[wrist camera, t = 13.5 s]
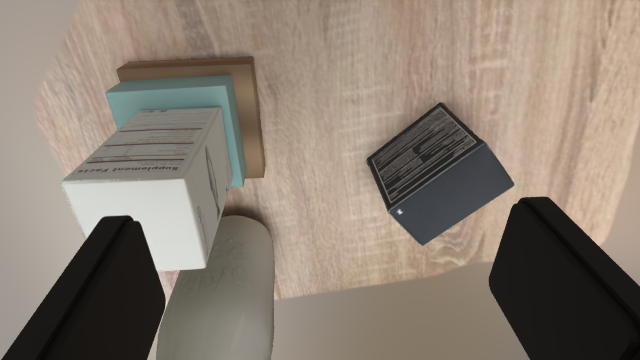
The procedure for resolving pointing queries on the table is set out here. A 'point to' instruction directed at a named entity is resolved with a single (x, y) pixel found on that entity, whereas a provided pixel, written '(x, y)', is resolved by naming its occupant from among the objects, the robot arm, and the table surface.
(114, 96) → the tower top
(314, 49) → the table surface
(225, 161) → the supplement box
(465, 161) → the small box
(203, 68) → the tower base
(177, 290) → the glass bottle
